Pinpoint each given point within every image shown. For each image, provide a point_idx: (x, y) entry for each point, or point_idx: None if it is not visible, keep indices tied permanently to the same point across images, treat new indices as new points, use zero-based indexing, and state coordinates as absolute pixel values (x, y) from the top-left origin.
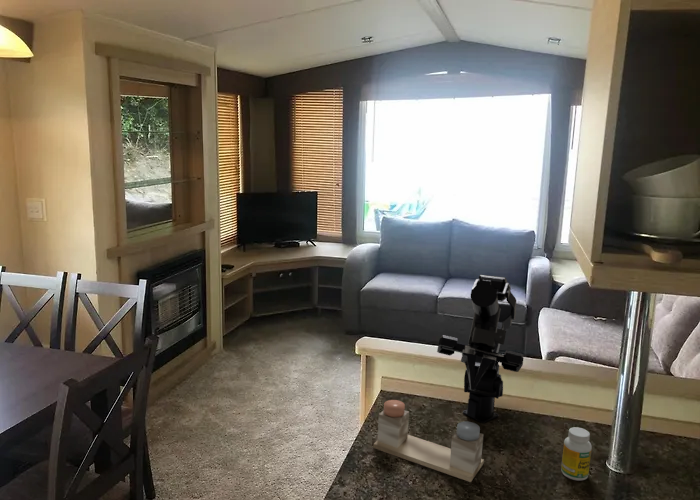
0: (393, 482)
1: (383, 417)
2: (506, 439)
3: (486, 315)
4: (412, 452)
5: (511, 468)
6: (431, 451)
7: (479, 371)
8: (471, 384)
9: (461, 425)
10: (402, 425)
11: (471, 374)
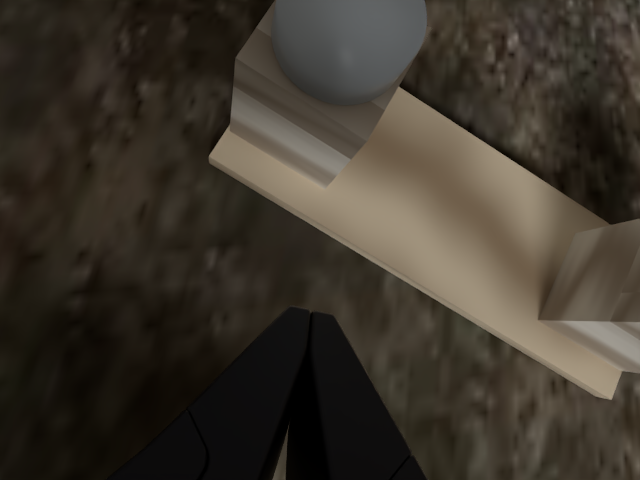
0: (566, 42)
1: None
2: (10, 411)
3: None
4: (517, 202)
5: (78, 129)
6: (440, 213)
7: (228, 471)
8: (338, 334)
9: (397, 28)
10: (636, 254)
11: (373, 433)
